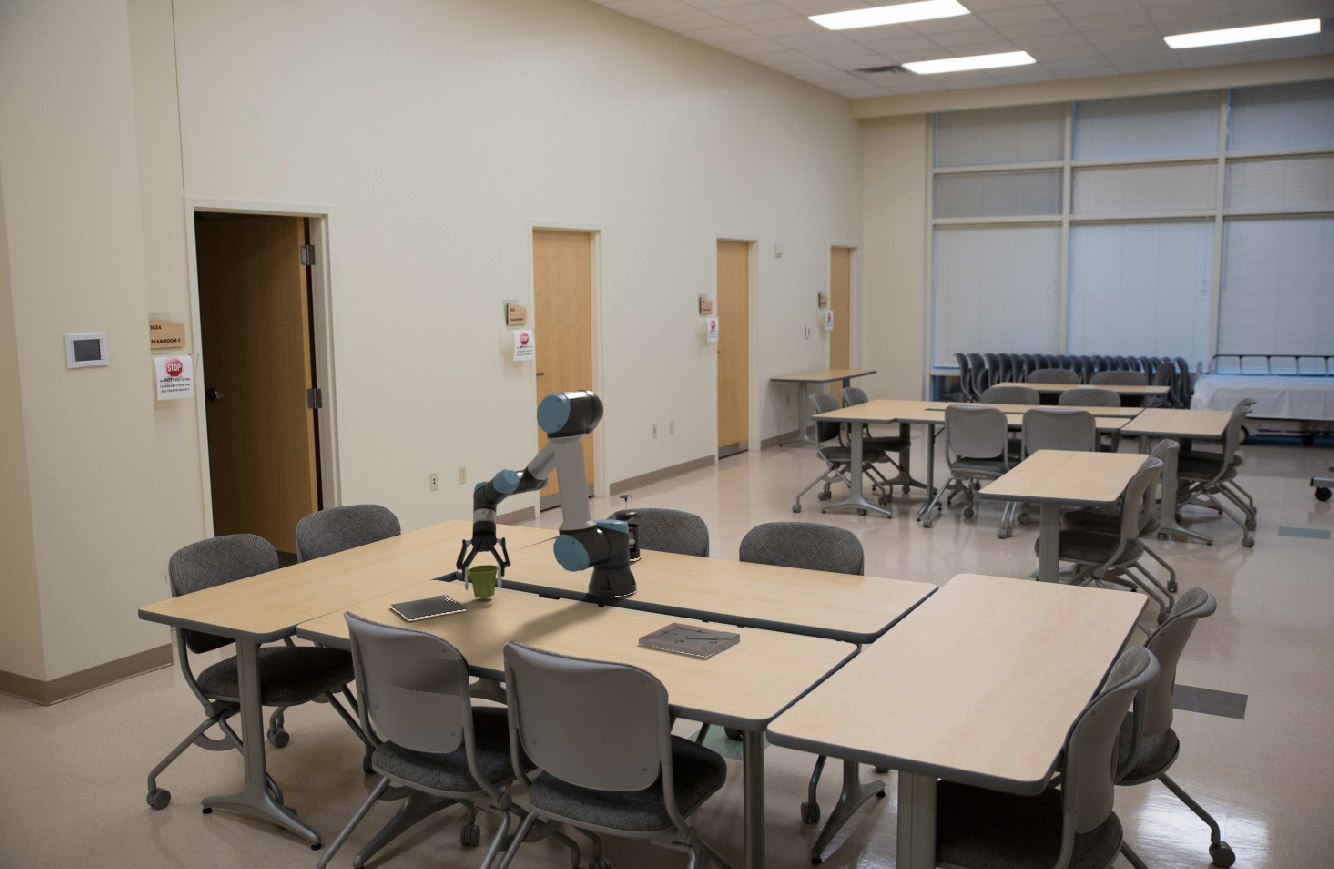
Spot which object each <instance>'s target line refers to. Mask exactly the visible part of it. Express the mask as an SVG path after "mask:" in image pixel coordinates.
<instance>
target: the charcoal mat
mask: <svg viewBox="0 0 1334 869" xmlns="http://www.w3.org/2000/svg"><path fill="white" fill-rule="evenodd" d="M445 595H447V596H446V597H448V598H449V597H450V596H449V595H448V594H442V595H437V596H431V597H426V598H422V599H421V598H420V599H414V600H410V601H403V602H399V603H394V604H390V605H391V606H392V607H393V608H395V609H396V610H397V611H399V612H400V613H401V614H403V615H404V616H405V617H406V618H408V619H415V618H420V617H425V616H431V615H436V614H441V613H446V612H452V611H457V610H463V609H467V610H468V607H466V606H465V605H463V604H462V603H460V602H459V601H457V600H456V599H454V598H452V597H451V598H452V599H451V598H450V599H451V600H453V599H454V600H453V601H451V600H448V599H447V598H446V597H445ZM445 599H446V600H445ZM447 600H448V601H447ZM455 600H456V601H455ZM454 601H455V602H456V603H455V602H454Z"/></svg>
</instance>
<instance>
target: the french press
mask: <svg viewBox="0 0 1334 869" xmlns="http://www.w3.org/2000/svg"><path fill="white" fill-rule="evenodd" d="M619 498H621V499H624V502H625V510H618V511H615V512H613V515H614V520H619V521H624V522H626V523H627V524H628V529H629V533H632V538H629V547H630V559H634V558H638V557H640V556H641V548H640V547H639V542H640V540H639V531H640V528H641V527H640V525H639V524H637V523H628V521H629V520H630V519H631V518H632V517H633V518H639V514H640V513H639V511H638V510H630V509H627V508H628V507H627V502H628V499H630V498H632V496H631V495H629V494H628V495H626V494H624V495H621V496H619Z"/></svg>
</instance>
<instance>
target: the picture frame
mask: <svg viewBox="0 0 1334 869" xmlns="http://www.w3.org/2000/svg"><path fill="white" fill-rule="evenodd" d="M737 641H738V642H740V641H741V634H740V633H735V632H729V631H723V630H722V631H721V630H716V629H712V628H705V627H701V626H694V625H689V624H683V623H680V622H679V623H678V622H672V623H670V624H668V625H667V626H664V627H661V628H659V629H656V630H654V631H653V632H650V633H648V634H646V635H643V636H641V637H639V638H638V645H639V644H643V645H642V646H644V645H647V646H646V647H649V646H654V647H658V648H664V649H669V650H674V651H679V652H684V653H690V654H694V655H700V656H704V657H707V656H709V655H711V654H713V653H715V652H717V653H719V652H720V651H719V650H721V651H723V650H725V649H727V648H728V647H727V646H729V647H730V645H731V646H732V644H733V645H734V644H736V643H738V642H737ZM726 647H727V648H726ZM658 648H657V649H658ZM724 648H725V649H724ZM722 649H723V650H722ZM718 651H719V652H718ZM715 654H716V653H715Z"/></svg>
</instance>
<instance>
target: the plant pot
mask: <svg viewBox="0 0 1334 869" xmlns="http://www.w3.org/2000/svg"><path fill="white" fill-rule="evenodd" d="M468 572H469V577H470V581H471V584H472V590H473V595H474V597H475V598H480V599H489V598H492V596H493V597H494V596H495V591H496V588H495V587H496V578H497V575H498V565H492V564H491V565H489V564H486V565H485V564H482V565H476V566H473V567H470V568H468Z"/></svg>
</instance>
